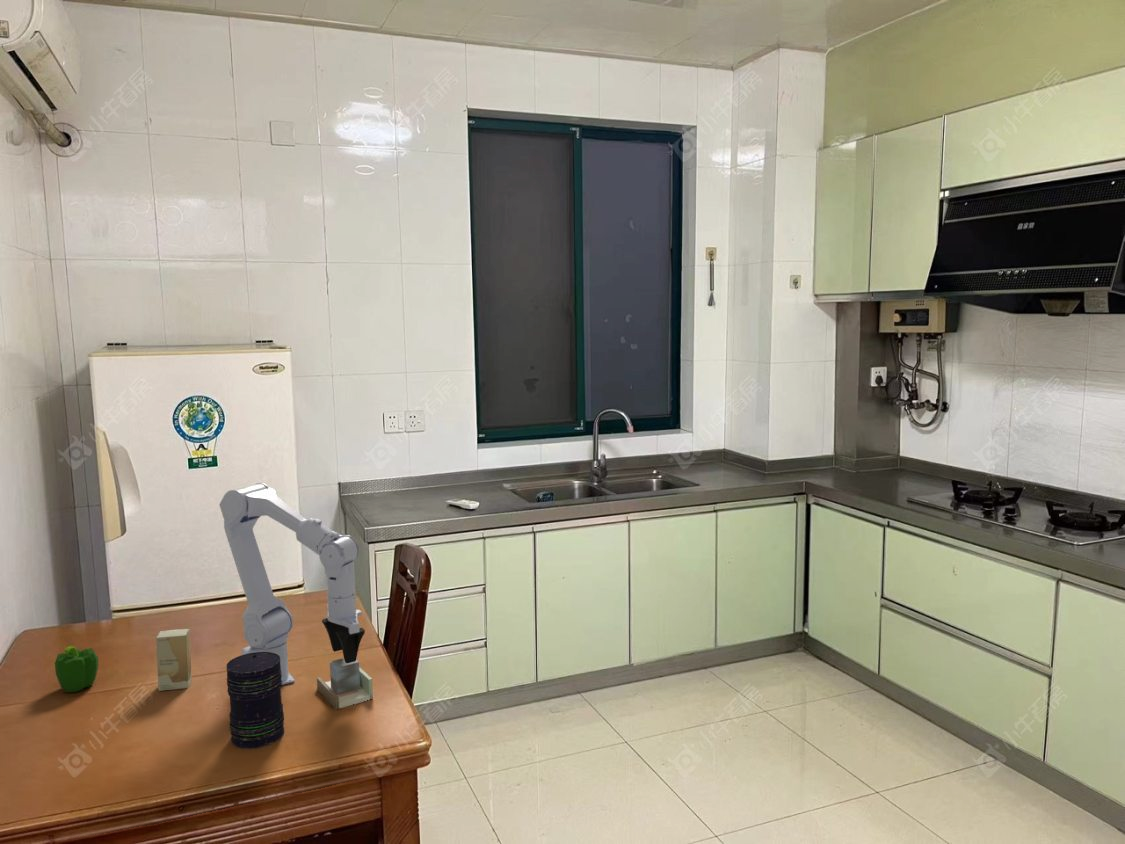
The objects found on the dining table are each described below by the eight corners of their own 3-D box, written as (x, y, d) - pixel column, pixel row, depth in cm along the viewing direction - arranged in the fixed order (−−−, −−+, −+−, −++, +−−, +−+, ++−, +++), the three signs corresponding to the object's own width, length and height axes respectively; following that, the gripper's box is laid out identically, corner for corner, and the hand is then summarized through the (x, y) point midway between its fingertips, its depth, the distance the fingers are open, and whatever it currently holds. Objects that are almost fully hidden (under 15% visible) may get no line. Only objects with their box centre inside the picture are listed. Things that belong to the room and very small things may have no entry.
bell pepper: (83, 677, 186) (80, 634, 185) (107, 683, 182) (104, 640, 181) (46, 691, 179) (42, 647, 177) (70, 699, 175) (66, 654, 174)
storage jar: (283, 744, 154) (279, 668, 153) (228, 752, 152) (223, 675, 150) (285, 720, 164) (281, 648, 162) (233, 728, 161) (228, 655, 160)
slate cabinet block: (337, 695, 173) (336, 667, 172) (331, 688, 176) (329, 661, 175) (360, 688, 175) (359, 662, 175) (353, 682, 179) (352, 656, 178)
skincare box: (158, 692, 178) (154, 637, 176) (162, 683, 182) (158, 630, 181) (190, 688, 180) (186, 634, 178) (193, 680, 184) (189, 627, 182)
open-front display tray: (335, 709, 168) (334, 688, 168) (317, 688, 178) (316, 668, 178) (372, 699, 173) (372, 678, 172) (352, 679, 183) (351, 660, 182)
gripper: (372, 599, 170) (374, 662, 171) (347, 582, 181) (350, 641, 183) (339, 606, 166) (342, 670, 167) (316, 588, 178) (319, 648, 179)
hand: (344, 655), depth 175 cm, fingers open, 7 cm apart
